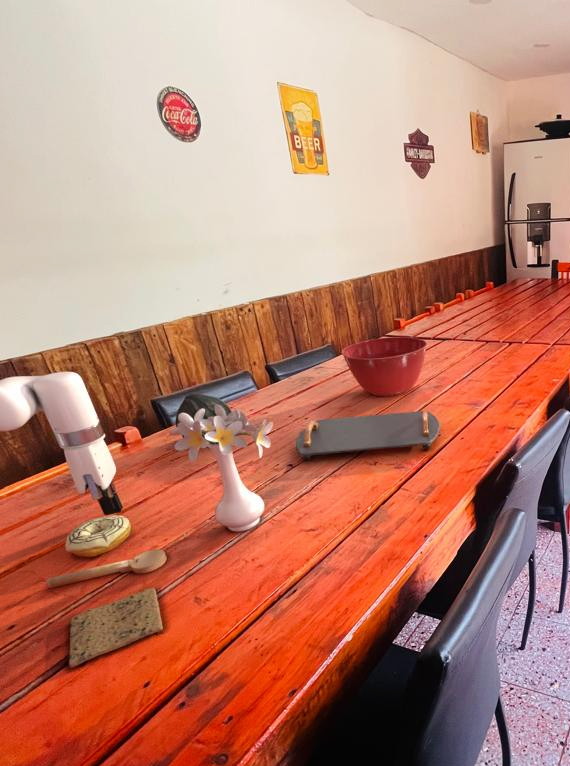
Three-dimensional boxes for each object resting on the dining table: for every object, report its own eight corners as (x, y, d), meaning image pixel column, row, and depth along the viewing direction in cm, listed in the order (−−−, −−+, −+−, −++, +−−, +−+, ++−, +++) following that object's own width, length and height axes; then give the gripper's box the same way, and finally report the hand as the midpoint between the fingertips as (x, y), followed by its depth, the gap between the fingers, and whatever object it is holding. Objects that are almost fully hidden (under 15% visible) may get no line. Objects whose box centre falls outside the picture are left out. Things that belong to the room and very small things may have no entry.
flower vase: (287, 534, 101) (258, 418, 91) (190, 546, 99) (147, 429, 88) (298, 500, 113) (273, 394, 102) (211, 510, 111) (176, 403, 100)
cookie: (164, 629, 79) (162, 625, 79) (69, 669, 73) (66, 664, 73) (156, 588, 88) (154, 584, 88) (70, 620, 82) (68, 616, 82)
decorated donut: (58, 563, 96) (50, 547, 95) (88, 531, 106) (81, 515, 104) (117, 556, 98) (110, 539, 96) (142, 524, 107) (135, 509, 106)
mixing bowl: (333, 391, 179) (325, 348, 172) (400, 372, 195) (395, 332, 189) (377, 411, 159) (370, 363, 153) (447, 387, 176) (444, 343, 170)
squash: (237, 405, 155) (190, 377, 145) (248, 421, 144) (197, 392, 134) (208, 442, 154) (158, 416, 144) (216, 462, 143) (163, 435, 133)
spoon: (42, 598, 88) (38, 590, 87) (53, 578, 93) (49, 570, 92) (164, 568, 94) (161, 560, 93) (168, 551, 98) (165, 543, 97)
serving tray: (289, 466, 128) (284, 443, 126) (307, 429, 149) (303, 409, 146) (442, 452, 131) (440, 430, 129) (439, 418, 152) (437, 398, 149)
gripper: (69, 424, 107) (102, 499, 115) (44, 453, 94) (83, 535, 102) (111, 418, 109) (140, 491, 117) (92, 445, 97) (126, 525, 105)
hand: (114, 511), depth 110 cm, fingers closed
